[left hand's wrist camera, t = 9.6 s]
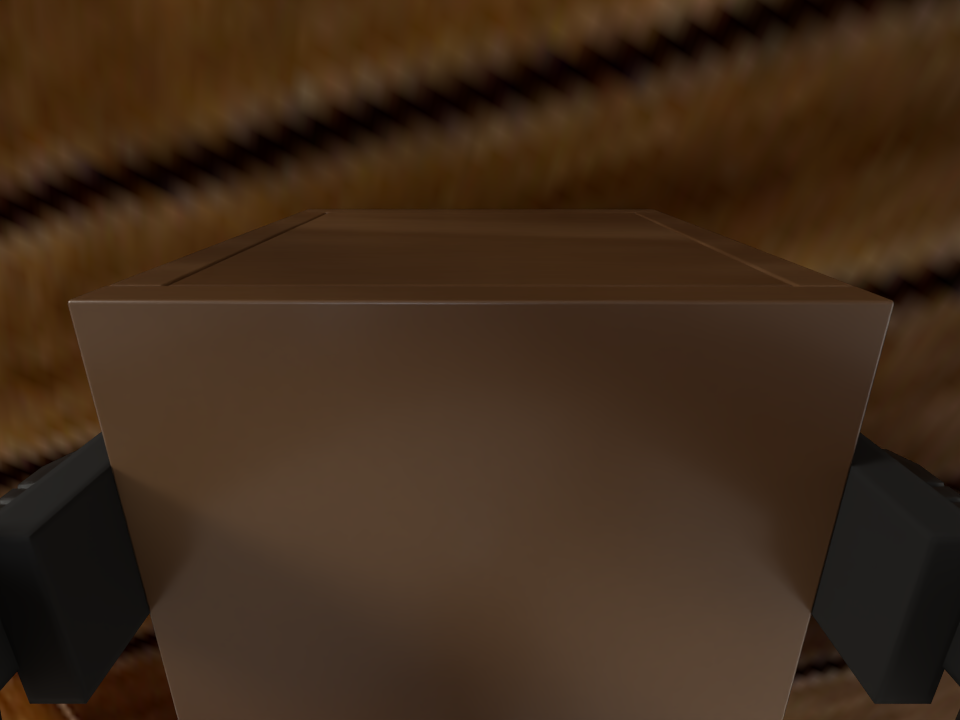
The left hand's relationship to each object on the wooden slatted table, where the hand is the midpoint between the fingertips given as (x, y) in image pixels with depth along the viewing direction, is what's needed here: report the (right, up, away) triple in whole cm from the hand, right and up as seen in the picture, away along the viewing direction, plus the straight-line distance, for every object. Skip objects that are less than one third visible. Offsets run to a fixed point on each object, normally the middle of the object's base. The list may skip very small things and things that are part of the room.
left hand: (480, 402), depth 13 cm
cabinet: (0, -4, +8) cm, 8 cm away
